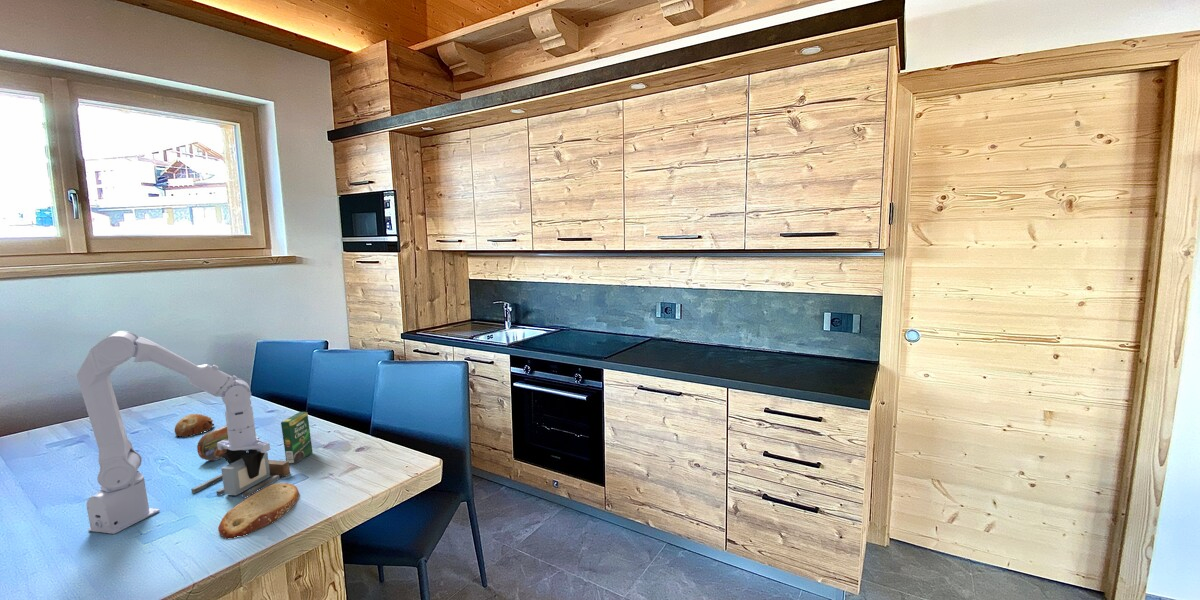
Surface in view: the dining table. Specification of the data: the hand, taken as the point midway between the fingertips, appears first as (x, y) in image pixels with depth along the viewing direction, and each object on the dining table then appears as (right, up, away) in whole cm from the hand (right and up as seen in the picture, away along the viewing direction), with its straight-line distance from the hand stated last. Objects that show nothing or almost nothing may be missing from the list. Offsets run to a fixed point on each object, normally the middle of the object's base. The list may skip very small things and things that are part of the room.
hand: (247, 476), depth 128 cm
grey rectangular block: (0, -2, 0) cm, 2 cm away
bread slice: (+12, -5, -12) cm, 17 cm away
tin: (-23, -1, +22) cm, 32 cm away
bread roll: (-49, 0, +42) cm, 65 cm away
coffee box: (+4, -1, +16) cm, 17 cm away
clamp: (-3, -3, +3) cm, 5 cm away
